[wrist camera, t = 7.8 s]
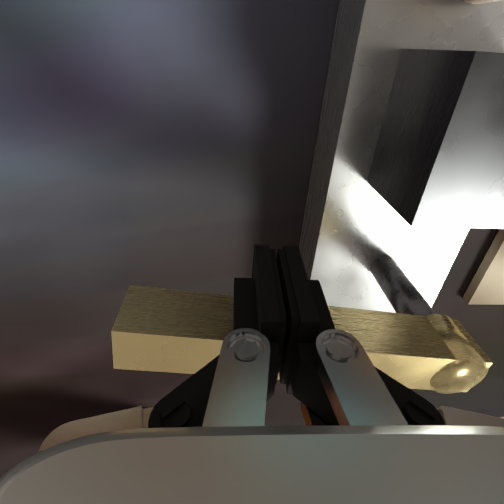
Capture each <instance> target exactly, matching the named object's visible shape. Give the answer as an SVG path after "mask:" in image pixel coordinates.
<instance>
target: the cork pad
mask: <svg viewBox="0 0 504 504" xmlns="http://www.w3.org/2000/svg"><path fill="white" fill-rule="evenodd" d="M463 299H464V300H465V301H466V303H467V304H504V229H499V231H498V233H497V235H496V237H495V239H494V240H493V242H492V244H491V246H490V248H489V250H488V252H487V253H486V255H485V257H484V259H483V261H482V263H481V264H480V266H479V268H478V270H477V272H476V274H475V276H474V277H473V279H472V281H471V283H470V285H469V287H468V288H467V290H466V292H465V294H464V296H463Z"/></svg>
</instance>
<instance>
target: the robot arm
mask: <svg viewBox="0 0 504 504" xmlns="http://www.w3.org/2000/svg"><path fill="white" fill-rule="evenodd" d="M278 373H279V377H280V383H281V384H286V389H287V394H293V396H295V397H296V398H297V399H298V400H300V401H301V404H300V405H301V411H302V414H303V417H304V420H305V423H306V426H264V422H265V409H266V402H267V401H268V400H269V399H270V398H271V397H272V396H273V395H274V390H275V384H277V379H278ZM0 504H504V419H502V418H497V417H493V416H488V415H483V414H479V413H474V412H469V411H465V410H460V409H455V408H451V407H446V406H440V408H439V409H438V408H435V407H434V406H433V405H432V404H431V403H430V402H428V401H427V400H426V399H424V398H423V397H421V396H420V395H418V394H416V393H415V392H413V391H412V390H410V389H409V388H407V387H406V386H404V385H403V384H401V383H399V382H398V381H396V380H395V379H393V378H392V377H390V376H389V375H387V374H386V373H384V372H382V371H381V370H379V369H378V368H376V367H375V366H374V365H373V363H372V362H371V360H370V358H369V357H368V355H367V353H366V352H365V350H364V348H363V346H362V345H361V343H360V342H359V341H358V340H357V339H356V338H355V337H354V336H353V335H351V334H349V333H347V332H345V331H342V330H338V329H335V326H334V323H333V320H332V317H331V314H330V311H329V308H328V305H327V302H326V299H325V296H324V293H323V290H322V287H321V284H320V282H319V280H308V277H307V274H306V270H305V267H304V264H303V260H302V257H301V253H300V250H299V247H298V246H283V249H278V252H277V259H276V255H275V250H274V249H270V248H269V245H255V246H254V257H253V270H252V278H234V302H233V331H232V332H230V333H229V334H228V335H227V336H226V337H225V338H224V340H223V343H222V347H221V351H220V354H219V355H218V356H217V357H216V358H214V359H213V360H212V361H210V362H209V363H208V364H206V365H205V366H204V367H203V368H201V369H200V370H199V371H197V372H196V373H195V374H194V375H192V376H191V377H190V378H188V379H187V380H186V381H184V382H183V383H182V384H181V385H179V386H178V387H177V388H175V389H174V390H173V391H171V392H170V393H169V394H168V395H166V396H165V397H164V398H162V399H161V400H160V401H159V402H158V403H157V404H156V405H155V406H154V407H151V408H146V409H142V406H139V407H134V408H130V409H125V410H121V411H116V412H112V413H107V414H103V415H98V416H94V417H89V418H84V419H80V420H75V421H71V422H68V423H66V424H63V425H60V426H59V427H58V428H56V429H55V430H54V431H52V432H51V433H50V434H49V435H48V436H47V438H46V439H45V440H44V441H43V443H42V446H41V448H40V450H39V452H38V453H37V454H35V455H33V456H31V457H29V458H27V459H25V460H23V461H22V462H20V463H19V464H17V465H16V466H14V467H13V468H11V469H10V470H9V471H7V472H6V473H5V474H4V475H3V476H1V477H0Z"/></svg>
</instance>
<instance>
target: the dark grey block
mask: <svg viewBox="0 0 504 504" xmlns="http://www.w3.org/2000/svg"><path fill="white" fill-rule="evenodd" d="M367 183H368V184H369V185H370V186H371V187H372V188H373V189H374V190H375V191H376V192H377V193H378V194H379V195H380V196H381V197H382V198H383V199H384V200H385V201H386V202H387V203H388V204H389V205H390V206H391V207H392V208H393V209H394V210H395V211H396V212H397V213H398V214H399V215H400V216H401V217H402V218H403V219H404V220H405V221H406V222H407V223H408V224H409V225H410V226H411V227H446V228H485V229H504V53H496V52H482V51H458V50H427V49H402V50H401V54H400V58H399V61H398V65H397V69H396V73H395V77H394V80H393V84H392V88H391V92H390V95H389V99H388V103H387V107H386V111H385V114H384V118H383V122H382V126H381V130H380V133H379V137H378V141H377V145H376V149H375V152H374V156H373V160H372V164H371V168H370V171H369V175H368V179H367Z"/></svg>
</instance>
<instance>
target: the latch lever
mask: <svg viewBox="0 0 504 504" xmlns="http://www.w3.org/2000/svg"><path fill="white" fill-rule="evenodd" d="M233 302H234V296H230V295H221V294H211V293H202V292H192V291H182V290H173V289H163V288H154V287H144V286H135V285H130V287H129V289H128V292H127V294H126V297H125V299H124V302H123V304H122V306H121V309H120V311H119V314H118V316H117V319H116V321H115V324H114V326H113V328H112V331H111V333H112V349H113V364H114V369H128V370H143V371H158V372H172V373H187V374H195V373H196V372H197V371H199V370H200V369H201V368H203V367H204V366H205V365H206V364H208V363H209V362H210V361H212V360H213V359H214V358H216V357H217V356H218V355H219V354H220V351H221V347H222V343H223V340H224V338H225V337H226V336H227V335H228V334H229V333H230V332H232V331H233ZM328 308H329V311H330V314H331V317H332V320H333V323H334V326H335V329H338V330H342V331H345V332H347V333H349V334H351V335H353V336H354V337H355V338H356V339H357V340H358V341H359V342H360V343H361V345H362V346H363V348H364V350H365V352H366V353H367V355H368V357H369V358H370V360H371V362H372V363H373V365H374V366H375V367H376V368H378V369H379V370H381V371H382V372H384V373H386V374H387V375H389V376H390V377H392V378H393V379H395V380H396V381H398V382H399V383H401V384H403V385H404V386H406V387H407V388H412V389H427V390H434V391H436V392H438V393H444V394H450V393H457V392H468V390H469V389H470V388H471V387H473V386H475V385H476V384H478V383H479V382H480V381H481V380H482V379H483V378H484V377H485V376H486V374H487V372H488V368H489V367H490V366H491V365H492V364H493V362H492V361H491V360H490V359H489V358H488V356H487V355H486V354H485V353H484V351H483V350H482V349H481V348H480V347H479V345H478V344H477V343H476V342H475V341H474V339H473V338H472V337H471V336H470V334H469V333H468V332H467V331H466V330H465V328H464V327H463V326H462V325H461V324H460V322H459V321H458V320H457V319H451V318H449V317H448V316H446V315H442V314H432V315H427V316H421V315H411V314H402V313H392V312H383V311H373V310H364V309H354V308H345V307H335V306H328ZM277 380H280V377H279V373H278V379H277Z"/></svg>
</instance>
